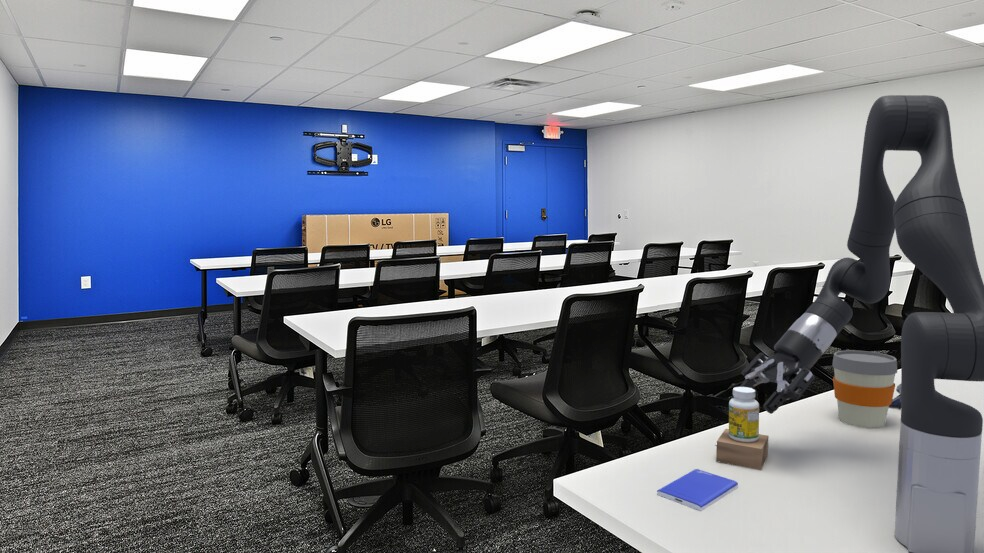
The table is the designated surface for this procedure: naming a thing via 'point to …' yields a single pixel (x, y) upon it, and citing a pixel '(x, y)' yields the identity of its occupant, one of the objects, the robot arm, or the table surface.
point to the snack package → (897, 400)
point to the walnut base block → (742, 451)
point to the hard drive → (698, 489)
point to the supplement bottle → (744, 415)
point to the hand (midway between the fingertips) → (752, 403)
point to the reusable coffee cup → (864, 386)
